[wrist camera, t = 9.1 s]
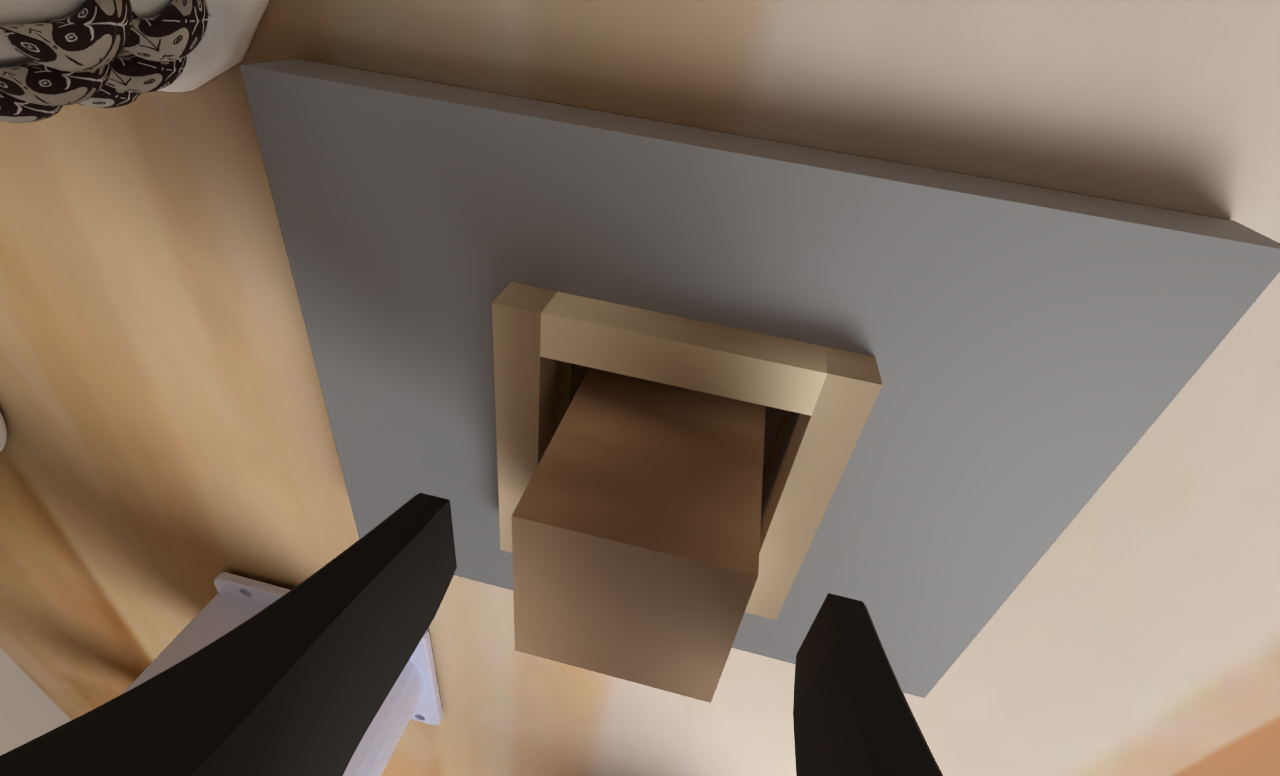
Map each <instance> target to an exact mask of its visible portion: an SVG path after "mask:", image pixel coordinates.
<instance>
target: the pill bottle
mask: <svg viewBox="0 0 1280 776" xmlns="http://www.w3.org/2000/svg"><path fill="white" fill-rule="evenodd" d="M6 439H7V430H6V425H5V421H4V419H3V416H2V414H1V412H0V452H1V451H2V449H3V448H4V446H5V443H6Z"/></svg>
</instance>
